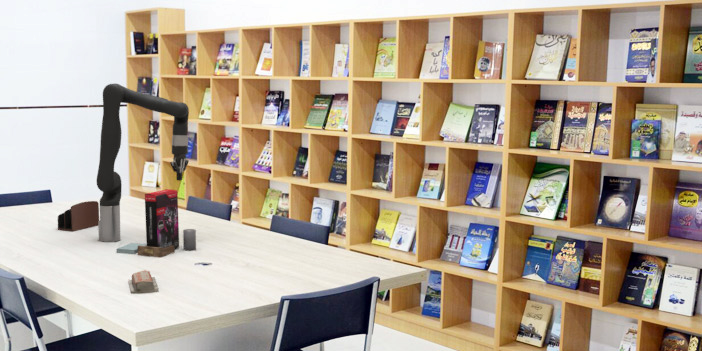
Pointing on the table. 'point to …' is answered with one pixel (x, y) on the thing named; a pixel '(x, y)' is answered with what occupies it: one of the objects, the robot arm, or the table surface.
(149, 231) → the graphics card box
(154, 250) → the brown wooden angled bracket
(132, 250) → the light blue rectangular block
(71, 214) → the letter holder
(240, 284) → the table surface
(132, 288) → the packaged product
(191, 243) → the grey rounded capsule
